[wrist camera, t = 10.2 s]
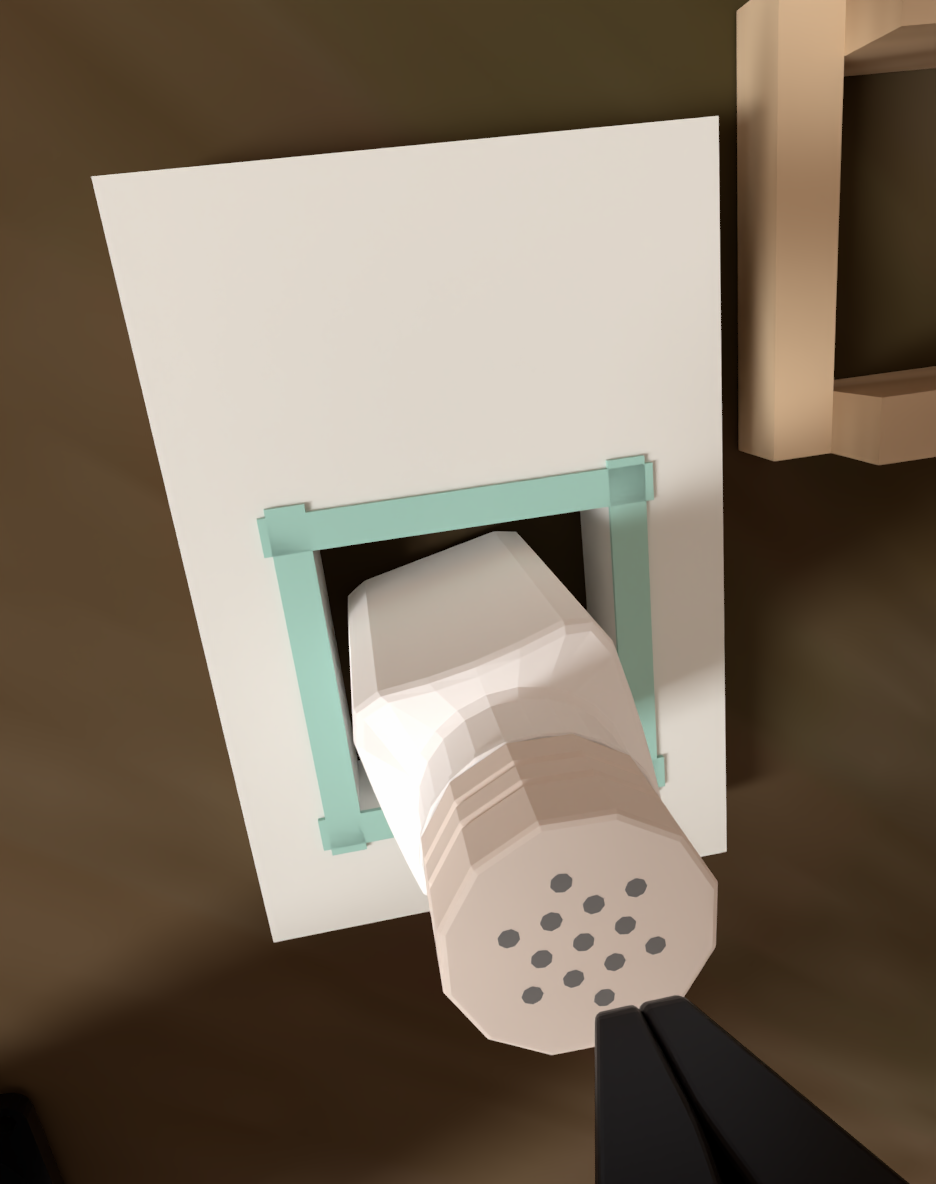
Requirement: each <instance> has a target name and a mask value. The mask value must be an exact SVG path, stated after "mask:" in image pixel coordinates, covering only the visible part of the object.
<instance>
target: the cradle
mask: <svg viewBox="0 0 936 1184" xmlns="http://www.w3.org/2000/svg"><path fill="white" fill-rule="evenodd" d="M930 68H936V0H750V1H749V2H748V3H746V4H745V5H744V6H742V7H741V8H740V9H739V10H737V217H738V447H739V451H742V452H746V453H749V454H752V455H755V456H758V457H762V458H765V459H768V460H771V461H780V460H787V459H794V458H801V457H807V456H814V455H821V454H828V453H833V454H837V455H841V456H845V457H848V458H852V459H856V460H860V461H864V462H868V463H872V464H875V465H884V464H891V463H898V462H904V461H911V460H918V459H925V458H931V457H936V366H932V367H925V368H918V369H910V370H903V371H896V372H888V373H881V374H874V375H867V376H859V377H852V378H845V379H837V380H834V353H835V323H836V292H837V262H838V231H839V201H840V171H841V140H842V110H843V79H844V77H845V76H855V75H866V74H877V73H888V72H898V71H909V70H920V69H930Z"/></svg>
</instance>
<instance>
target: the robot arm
mask: <svg viewBox="0 0 936 1184" xmlns="http://www.w3.org/2000/svg"><path fill="white" fill-rule="evenodd" d="M7 1116H9V1117H7ZM0 1184H64V1183H63V1180H62V1178H61V1175H60V1172H59V1170H58V1167H57V1165H56V1162H55V1160H54V1157H53V1155H52V1152H51V1149H50V1147H49V1144H48V1142H47V1139H46V1137H45V1134H44V1131H43V1129H42V1126H41V1124H40V1121H39V1119H38V1116H37V1114H36V1111H35V1108H34V1106H33V1104H32V1102H31V1101H30V1100H29V1099H28V1098H27V1097H25V1096H23V1095H21V1094H16V1093H7V1094H1V1095H0ZM595 1184H909V1183H908V1182H907V1181H906V1180H904V1179H903V1178H902V1177H901V1176H900V1175H898V1174H897V1173H896V1172H895V1171H894V1170H892V1169H891V1168H890V1167H889V1166H888V1165H886V1164H885V1163H884V1162H883V1161H882V1160H880V1159H879V1158H878V1157H877V1156H875V1155H874V1154H873V1153H872V1152H871V1151H869V1150H868V1149H867V1148H866V1147H865V1146H863V1145H862V1144H861V1143H860V1142H859V1141H857V1140H856V1139H855V1138H854V1137H853V1136H851V1135H850V1134H849V1133H848V1132H847V1131H845V1130H844V1129H843V1128H842V1127H841V1126H839V1125H838V1124H837V1123H836V1122H835V1121H833V1120H832V1119H831V1118H830V1117H829V1116H827V1115H826V1114H825V1113H824V1112H823V1111H821V1110H820V1109H819V1108H818V1107H817V1106H815V1105H814V1104H813V1103H812V1102H811V1101H809V1100H808V1099H807V1098H806V1097H805V1096H803V1095H802V1094H801V1093H800V1092H799V1091H797V1090H796V1089H795V1088H794V1087H793V1086H791V1085H790V1084H789V1083H788V1082H787V1081H785V1080H784V1079H783V1078H782V1077H781V1076H779V1075H778V1074H777V1073H776V1072H775V1071H773V1070H772V1069H771V1068H770V1067H769V1066H767V1065H766V1064H765V1063H764V1062H763V1061H761V1060H760V1059H759V1058H758V1057H757V1056H755V1055H754V1054H753V1053H752V1052H751V1051H749V1050H748V1049H747V1048H746V1047H745V1046H743V1045H742V1044H741V1043H740V1042H738V1041H737V1040H736V1039H735V1038H734V1037H732V1036H731V1035H730V1034H729V1033H728V1032H726V1031H725V1030H724V1029H723V1028H722V1027H720V1026H719V1025H718V1024H717V1023H716V1022H714V1021H713V1020H712V1019H711V1018H710V1017H708V1016H707V1015H706V1014H705V1013H704V1012H702V1011H701V1010H700V1009H699V1008H698V1007H696V1006H695V1005H694V1004H693V1003H692V1002H690V1001H689V1000H688V999H686V998H685V997H682V996H679V995H674V996H669V997H664V998H660V999H655V1000H651V1001H646V1002H644V1003H642V1004H641V1006H640V1008H639V1009H638V1008H637V1007H636V1006H634V1005H628V1006H624V1007H619V1008H615V1009H610V1010H605V1011H601V1012H599V1013H598V1014H597V1015H596V1017H595Z"/></svg>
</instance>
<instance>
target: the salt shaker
mask: <svg viewBox="0 0 936 1184" xmlns="http://www.w3.org/2000/svg"><path fill="white" fill-rule="evenodd" d="M348 635H349V656H350V678H351V699H352V720H353V741H354V744H355V747H356V749H357V752H358V754H359V756H360V759H361V761H362V764H363V766H364V769H365V771H366V773H367V776H368V778H369V781H370V783H371V786H372V788H373V790H374V793H375V795H376V797H377V800H378V802H379V804H380V807H381V809H382V811H383V813H384V816H385V818H386V820H387V823H388V825H389V827H390V829H391V831H392V833H393V835H394V838H395V840H396V842H397V844H398V846H399V848H400V850H401V852H402V854H403V856H404V858H405V860H406V862H407V864H408V866H409V868H410V870H411V872H412V873H413V875H414V877H415V879H416V881H417V883H418V885H419V887H420V888H421V890H422V892H423V894H425V895H427V896H428V902H429V908H430V914H431V919H432V926H433V933H434V939H435V943H436V951H437V957H438V963H439V969H440V975H441V982H442V988H443V993H444V994H445V995H446V996H447V997H448V998H449V999H450V1000H451V1001H452V1002H453V1003H454V1004H455V1005H456V1006H457V1007H458V1008H459V1009H460V1010H461V1011H462V1013H463V1014H464V1015H465V1016H466V1017H467V1018H468V1019H469V1020H470V1021H471V1022H472V1023H473V1024H474V1025H475V1026H476V1027H477V1028H478V1029H479V1030H480V1031H481V1032H482V1033H483V1034H484V1036H485V1037H486V1038H487V1039H490V1040H494V1041H498V1042H502V1043H506V1044H509V1045H513V1046H517V1047H521V1048H525V1049H529V1050H533V1051H537V1052H541V1053H545V1054H549V1055H555V1054H560V1053H565V1052H571V1051H576V1050H581V1049H586V1048H591V1047H595V1017H596V1015H597V1014H598V1013H599V1012H601V1011H605V1010H610V1009H615V1008H619V1007H624V1006H628V1005H634V1006H636V1007H637V1008H638V1009H639V1008H640V1006H641V1004H642V1003H644V1002H646V1001H651V1000H655V999H660V998H664V997H669V996H674V995H679V996H682V997H684V996H685V995H686V993H687V991H688V990H689V988H690V987H691V985H692V984H693V982H694V980H695V979H696V977H697V976H698V974H699V973H700V971H701V969H702V968H703V966H704V965H705V963H706V961H707V960H708V958H709V957H710V955H711V954H712V952H713V950H714V949H715V947H716V927H717V894H718V881H717V880H716V879H715V877H714V876H713V874H712V873H711V871H710V870H709V868H708V867H707V866H706V864H705V863H704V861H703V860H702V858H701V857H700V855H699V854H698V852H697V851H696V850H695V848H694V847H693V845H692V844H691V842H690V841H689V840H688V838H687V837H686V835H685V834H684V832H683V831H682V829H681V828H680V826H679V825H678V823H677V822H676V821H675V819H674V818H673V816H672V815H671V813H670V812H669V810H668V809H667V807H666V806H665V804H664V803H663V802H662V800H661V796H660V792H659V788H658V783H657V779H656V775H655V771H654V767H653V763H652V759H651V755H650V752H649V748H648V745H647V741H646V738H645V734H644V730H643V727H642V724H641V721H640V718H639V715H638V712H637V709H636V706H635V703H634V699H633V696H632V693H631V690H630V687H629V685H628V682H627V679H626V676H625V673H624V671H623V668H622V665H621V662H620V660H619V657H618V654H617V651H616V649H615V646H614V643H613V640H612V639H611V638H610V637H609V636H608V635H607V634H606V633H605V631H604V630H603V629H602V628H601V627H600V626H599V625H598V623H597V622H596V621H595V620H594V619H593V618H592V617H591V616H590V614H589V613H588V612H587V611H586V610H585V609H584V608H583V606H582V605H581V604H580V603H579V602H578V601H577V600H576V598H575V597H574V596H573V595H572V594H571V593H570V592H569V591H568V589H567V588H566V587H565V586H564V585H563V584H562V583H561V581H560V580H559V579H558V578H557V577H556V576H555V575H554V574H553V572H552V571H551V570H550V569H549V568H548V567H547V566H546V564H545V563H544V562H543V561H542V560H541V559H540V558H539V556H538V555H537V554H536V553H535V552H534V551H533V550H532V549H531V547H530V546H529V545H528V544H527V543H526V542H525V541H524V540H523V539H522V538H521V536H520V535H519V534H518V533H517V532H509V531H493V532H491V533H488V534H485V535H483V536H480V537H477V538H475V539H472V540H470V541H467V542H464V543H462V544H459V545H457V546H454V547H451V548H449V549H446V550H443V551H441V552H438V553H436V554H433V555H430V556H428V557H425V558H422V559H420V560H417V561H415V562H412V563H409V564H407V565H404V566H402V567H399V568H396V569H394V570H391V571H389V572H386V573H383V574H381V575H378V576H375V577H373V578H370V579H368V580H365V581H364V582H362V583H361V584H360V585H359V586H358V587H357V588H356V589H355V590H354V591H353V592H352V593H351V594H350V595H348Z"/></svg>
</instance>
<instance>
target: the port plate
mask: <svg viewBox="0 0 936 1184" xmlns="http://www.w3.org/2000/svg"><path fill="white" fill-rule="evenodd" d="M91 178H92V182H93V186H94V191H95V195H96V199H97V203H98V207H99V212H100V216H101V220H102V224H103V228H104V233H105V237H106V241H107V245H108V249H109V254H110V258H111V262H112V266H113V270H114V275H115V279H116V283H117V287H118V291H119V296H120V300H121V304H122V308H123V312H124V317H125V321H126V325H127V329H128V333H129V338H130V342H131V346H132V350H133V354H134V359H135V363H136V367H137V371H138V375H139V380H140V384H141V388H142V392H143V396H144V400H145V405H146V409H147V413H148V417H149V421H150V426H151V430H152V434H153V438H154V442H155V447H156V451H157V455H158V459H159V463H160V468H161V472H162V476H163V480H164V484H165V489H166V493H167V497H168V501H169V505H170V510H171V514H172V518H173V522H174V526H175V531H176V535H177V539H178V543H179V547H180V552H181V556H182V560H183V564H184V568H185V573H186V577H187V581H188V585H189V589H190V594H191V598H192V602H193V606H194V610H195V615H196V619H197V623H198V627H199V631H200V636H201V640H202V644H203V648H204V652H205V657H206V661H207V665H208V669H209V673H210V678H211V682H212V686H213V690H214V694H215V699H216V703H217V707H218V711H219V715H220V719H221V724H222V728H223V732H224V736H225V740H226V745H227V749H228V753H229V757H230V761H231V766H232V770H233V774H234V778H235V782H236V787H237V791H238V795H239V799H240V803H241V808H242V812H243V816H244V820H245V824H246V829H247V833H248V837H249V841H250V845H251V850H252V854H253V858H254V862H255V866H256V871H257V875H258V879H259V883H260V887H261V892H262V896H263V900H264V904H265V908H266V913H267V917H268V921H269V925H270V929H271V934H272V938H273V942H279V941H284V940H289V939H294V938H299V937H304V936H309V935H314V934H319V933H324V932H329V931H334V930H339V929H344V928H349V927H354V926H359V925H364V924H369V923H374V922H379V921H384V920H389V919H394V918H399V917H404V916H409V915H414V914H419V913H423V912H428V911H430V908H429V902H428V896H427V895H425V894H423V892H422V890H421V888H420V887H419V885H418V883H417V881H416V879H415V877H414V875H413V873H412V872H411V870H410V868H409V866H408V864H407V862H406V860H405V858H404V856H403V854H402V852H401V850H400V848H399V846H398V844H397V842H396V840H395V838H394V835H393V833H392V831H391V829H390V827H389V825H388V823H387V820H386V818H385V816H384V813H383V811H382V809H381V807H380V804H379V802H378V800H377V797H376V795H375V793H374V790H373V788H372V786H371V783H370V781H369V778H368V776H367V773H366V771H365V769H364V766H363V764H362V761H361V760H360V761H358V759H357V754H356V748H355V744H354V741H353V732H352V726H351V720H350V715H349V709H348V704H347V698H346V693H345V687H344V681H343V676H342V670H341V665H340V659H339V654H338V648H337V643H336V637H335V631H334V626H333V620H332V615H331V609H330V604H329V598H328V592H327V587H326V581H325V576H324V570H323V565H322V559H321V554H320V550H322V549H329V548H335V547H342V546H349V545H355V544H362V543H369V542H375V541H382V540H389V539H395V538H402V537H409V536H415V535H422V534H429V533H435V532H442V531H449V530H456V529H462V528H469V527H476V526H482V525H489V524H496V523H502V522H509V521H516V520H522V519H529V518H536V517H542V516H549V515H556V514H562V513H569V512H576V511H580V517H581V531H582V545H583V560H584V574H585V589H586V603H587V612H588V613H589V614H590V616H591V617H592V618H593V619H594V620H595V621H596V622H597V623H598V625H599V626H600V627H601V628H602V629H603V630H604V631H605V633H606V634H607V635H608V636H609V637H610V638H611V639H612V640H613V643H614V646H615V649H616V651H617V654H618V657H619V660H620V662H621V665H622V668H623V671H624V673H625V676H626V679H627V682H628V685H629V687H630V690H631V693H632V696H633V699H634V703H635V706H636V709H637V712H638V715H639V718H640V721H641V724H642V727H643V730H644V734H645V738H646V741H647V745H648V748H649V752H650V755H651V759H652V763H653V767H654V771H655V775H656V779H657V783H658V788H659V792H660V796H661V800H662V802H663V803H664V804H665V806H666V807H667V809H668V810H669V812H670V813H671V815H672V816H673V818H674V819H675V821H676V822H677V823H678V825H679V826H680V828H681V829H682V831H683V832H684V834H685V835H686V837H687V838H688V840H689V841H690V842H691V844H692V845H693V847H694V848H695V850H696V851H697V852H698V854H699V855H700V857H702V856H707V855H712V854H717V853H722V852H727V837H726V745H725V653H724V561H723V469H722V377H721V285H720V194H719V116H711V117H700V118H690V119H680V120H670V121H659V122H649V123H639V124H628V125H618V126H608V127H597V128H587V129H577V130H566V131H556V132H546V133H536V134H525V135H515V136H505V137H494V138H484V139H474V140H463V141H453V142H443V143H432V144H422V145H412V146H401V147H391V148H381V149H371V150H360V151H350V152H340V153H329V154H319V155H309V156H298V157H288V158H278V159H267V160H257V161H247V162H237V163H226V164H216V165H206V166H195V167H185V168H175V169H164V170H154V171H144V172H133V173H123V174H113V175H102V176H92V177H91Z"/></svg>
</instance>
